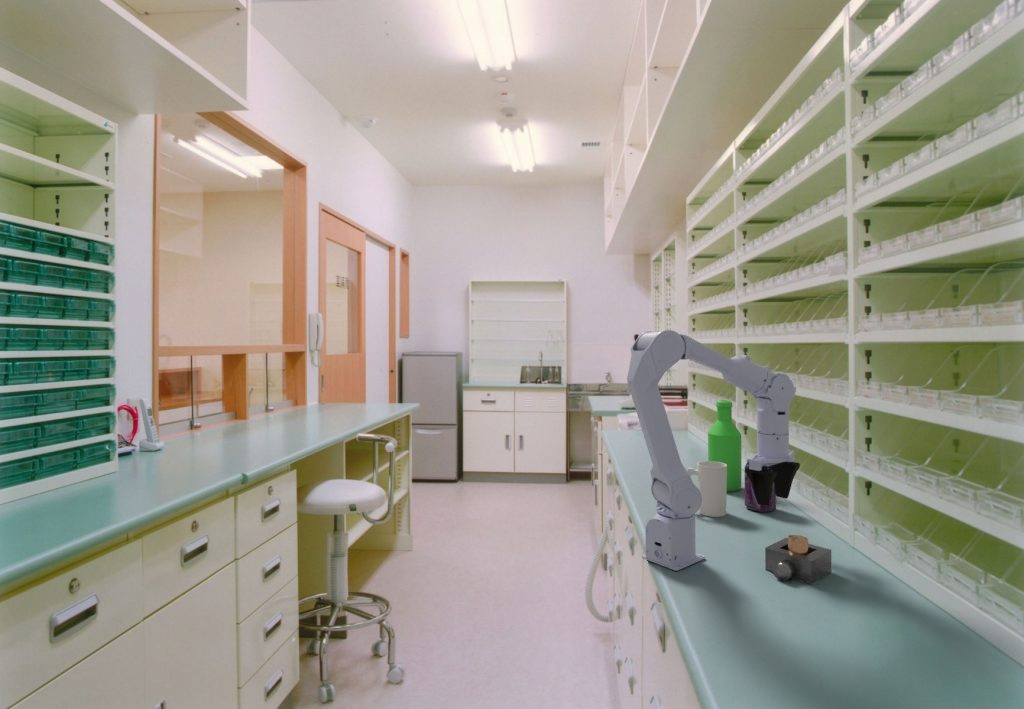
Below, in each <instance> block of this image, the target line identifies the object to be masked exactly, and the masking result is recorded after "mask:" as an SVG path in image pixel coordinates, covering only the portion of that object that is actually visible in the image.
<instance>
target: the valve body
mask: <svg viewBox="0 0 1024 709" xmlns="http://www.w3.org/2000/svg"><path fill="white" fill-rule="evenodd" d="M764 548H765V550H764V551H765V554H764V555H765V560H764V561H765V565H764V566H765V567H764V568H765V570H766V571H769V572H771V573H773V575H774V577H775V578H776V579H777V580H779V581H781V582H785V581H788V580H789V579H793V580H796V581H799V582H802V583H805V584H808V585H813V584H814V583H817V582H818V581H820V580H821V579H823V578H824V577H826V576H828V575H829V574H831V573H832V549H830V548H825V547H822V546H818V545H814V544H811V543H808V555H806V556H805V555H801V554H798V553H794V552H791V551H788V537H785V538H782V539H781V540H778V541H775V542H774V543H772V544H769V545H768V546H766V547H764Z"/></svg>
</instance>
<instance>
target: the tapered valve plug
mask: <svg viewBox="0 0 1024 709" xmlns="http://www.w3.org/2000/svg"><path fill="white" fill-rule="evenodd" d="M787 538H788V551H791V552H794V553H798V554H801V555H805V556H806V555H808V544H809V538H808V537H806V536H803V535H800V534H789V535H788V536H787Z"/></svg>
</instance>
